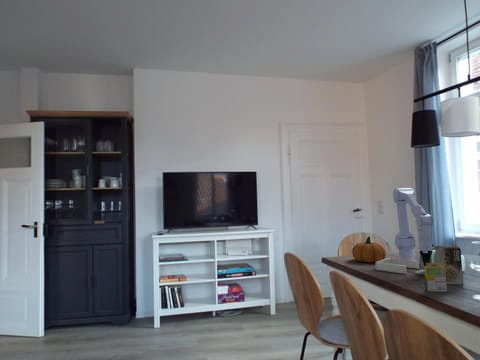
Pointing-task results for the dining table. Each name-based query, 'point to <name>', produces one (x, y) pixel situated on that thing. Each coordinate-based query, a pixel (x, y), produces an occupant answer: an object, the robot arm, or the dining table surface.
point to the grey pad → (420, 272)
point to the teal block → (423, 263)
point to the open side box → (396, 265)
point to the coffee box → (450, 263)
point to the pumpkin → (368, 252)
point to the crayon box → (435, 277)
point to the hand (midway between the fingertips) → (426, 265)
